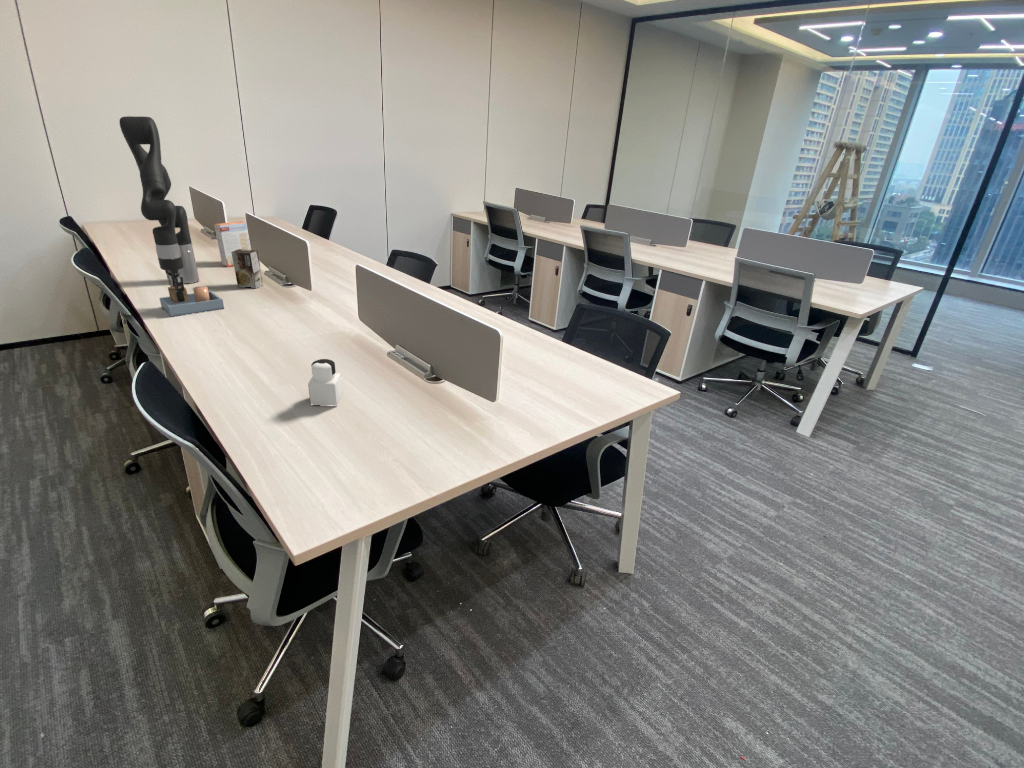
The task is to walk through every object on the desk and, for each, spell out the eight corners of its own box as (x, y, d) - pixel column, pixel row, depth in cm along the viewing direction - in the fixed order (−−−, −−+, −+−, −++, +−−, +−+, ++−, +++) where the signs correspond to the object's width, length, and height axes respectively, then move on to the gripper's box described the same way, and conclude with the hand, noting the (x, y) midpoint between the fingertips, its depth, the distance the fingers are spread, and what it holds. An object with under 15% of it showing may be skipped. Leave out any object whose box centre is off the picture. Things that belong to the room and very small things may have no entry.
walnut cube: (170, 299, 199) (167, 287, 197) (185, 297, 202) (182, 285, 200) (174, 303, 196) (171, 290, 194) (188, 301, 199) (186, 288, 197)
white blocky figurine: (317, 394, 147) (312, 356, 141) (342, 394, 147) (339, 356, 142) (310, 406, 140) (305, 366, 135) (337, 406, 141) (333, 367, 136)
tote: (161, 307, 202) (159, 297, 200) (213, 300, 214) (211, 290, 212) (171, 317, 193) (168, 307, 191) (224, 308, 205) (222, 299, 203)
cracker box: (247, 261, 274) (241, 221, 265) (253, 263, 271) (247, 222, 262) (221, 265, 264) (213, 223, 254) (227, 267, 260) (219, 225, 251)
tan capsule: (195, 304, 206) (191, 287, 203) (208, 302, 209) (205, 285, 206) (198, 307, 203) (195, 290, 200) (212, 305, 206) (209, 288, 203)
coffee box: (263, 285, 237) (258, 250, 230) (256, 288, 231) (250, 253, 224) (245, 283, 238) (239, 248, 231) (236, 287, 232) (230, 251, 225)
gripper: (152, 252, 193) (163, 296, 201) (163, 260, 185) (173, 305, 192) (175, 251, 198) (184, 293, 206) (186, 258, 189) (195, 302, 197)
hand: (179, 299), depth 199 cm, fingers closed on walnut cube, 5 cm apart
